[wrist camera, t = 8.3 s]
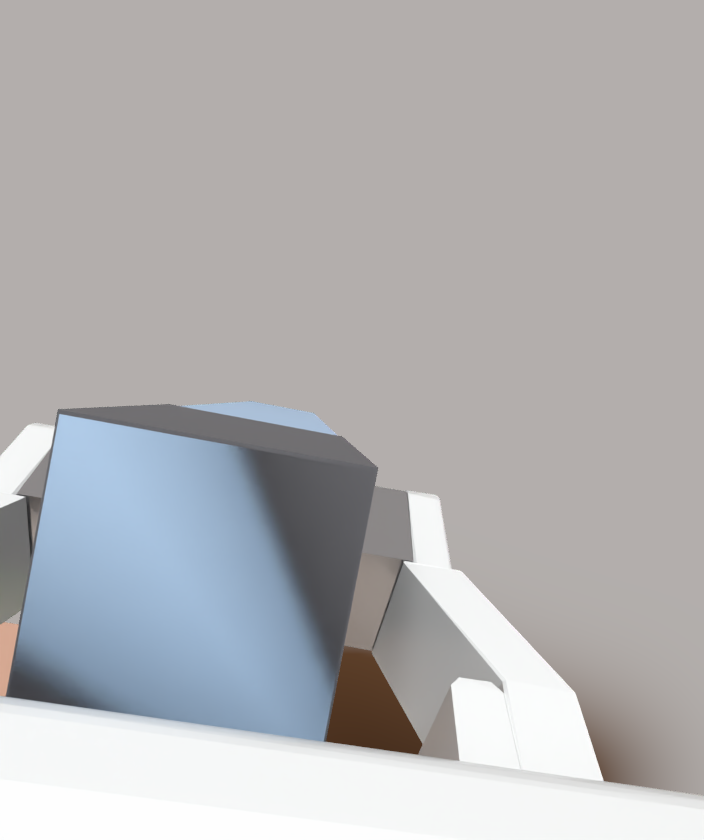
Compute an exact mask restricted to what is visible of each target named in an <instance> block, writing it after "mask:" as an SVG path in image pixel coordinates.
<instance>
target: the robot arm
mask: <svg viewBox="0 0 704 840" xmlns="http://www.w3.org/2000/svg"><path fill="white" fill-rule="evenodd" d="M54 428H55V426H50V425H45V424H39V423H33V424H30V425H28V426H26V427H25V429H24V430H23V431H22V432H21V433H20V434H19V435H18V437H17V438H16V439H15V440H14V441H13V442H12V443H11V444H10V446H9V447H8V448H7V449H6V450H5V451H4V452H3V453H2V455H1V456H0V625H1V624H2V623H3V622H5V621H6V620H7V619H9V618H10V617H12V616H13V615H15V614H16V613H18V612H19V611H21V610H22V604H23V599H24V593H25V588H26V582H27V577H28V571H29V566H30V560H31V555H32V549H33V544H34V538H35V533H36V527H37V522H38V516H39V511H40V505H41V500H42V494H43V489H44V483H45V478H46V472H47V467H48V461H49V456H50V450H51V445H52V439H53V434H54ZM344 646H350V647H355V648H361V649H366V650H372V654H373V656H374V658H375V659H376V661H377V663H378V665H379V667H380V669H381V670H382V672H383V674H384V676H385V678H386V679H387V681H388V683H389V685H390V686H391V688H392V690H393V692H394V694H395V695H396V697H397V699H398V701H399V702H400V704H401V706H402V708H403V710H404V711H405V713H406V715H407V717H408V718H409V720H410V722H411V724H412V725H413V727H414V729H415V731H416V733H417V734H418V736H419V738H420V740H421V742H422V743H423V745H422V747H421V750H420V752H419V754H418V755H414V754H407V753H400V752H393V751H385V750H379V749H372V748H365V747H358V746H351V745H344V744H337V743H329V742H323V741H316V740H309V739H302V738H295V737H287V736H280V735H273V734H266V733H259V732H252V731H245V730H238V729H231V728H224V727H217V726H210V725H203V724H196V723H189V722H181V721H174V720H167V719H160V718H153V717H146V716H139V715H132V714H125V713H118V712H111V711H104V710H97V709H90V708H83V707H76V706H68V705H61V704H54V703H47V702H40V701H33V700H26V699H19V698H12V697H5V696H0V840H704V795H697V794H690V793H682V792H675V791H668V790H661V789H654V788H647V787H640V786H633V785H626V784H619V783H612V782H605V781H603V778H602V775H601V772H600V769H599V766H598V762H597V759H596V756H595V753H594V750H593V747H592V744H591V740H590V737H589V734H588V731H587V728H586V725H585V722H584V719H583V715H582V712H581V709H580V706H579V703H578V700H577V697H576V693H575V692H574V691H573V690H572V689H571V688H570V687H569V686H568V685H567V684H566V683H565V682H564V680H563V679H562V678H561V677H560V676H559V675H558V674H557V673H556V672H555V671H554V670H553V669H552V668H551V667H550V666H549V664H548V663H547V662H546V661H545V660H544V659H543V658H542V657H541V656H540V655H539V654H538V653H537V652H536V651H535V649H534V648H533V647H532V646H531V645H530V644H529V643H528V642H527V641H526V640H525V639H524V638H523V637H522V636H521V635H520V634H519V632H518V631H517V630H516V629H515V628H514V627H513V626H512V625H511V624H510V623H509V622H508V621H507V620H506V618H505V617H504V616H503V615H502V614H501V613H500V612H499V611H498V610H497V609H496V608H495V607H494V606H493V605H492V604H491V602H490V601H489V600H488V599H487V598H486V597H485V596H484V595H483V594H482V593H481V592H480V591H479V590H478V589H477V587H476V586H475V585H474V584H473V583H472V582H471V581H470V580H469V579H468V578H467V577H466V576H465V575H464V574H463V573H462V572H461V571H459V570H453V569H451V563H450V556H449V551H448V545H447V539H446V533H445V527H444V521H443V515H442V509H441V504H440V499H439V498H438V497H437V495H433V494H427V493H420V492H413V491H407V490H406V491H400V490H395V489H389V488H383V487H377V486H375V487H374V492H373V497H372V503H371V508H370V513H369V518H368V524H367V529H366V534H365V539H364V544H363V550H362V555H361V560H360V565H359V570H358V576H357V581H356V586H355V591H354V597H353V602H352V607H351V612H350V617H349V623H348V628H347V633H346V638H345V643H344Z"/></svg>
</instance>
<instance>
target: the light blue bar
mask: <svg viewBox="0 0 704 840" xmlns="http://www.w3.org/2000/svg"><path fill="white" fill-rule="evenodd" d="M377 471H378V467H376V466H375V465H374V464H373V463H372V462H371V461H370V460H369V459H367V458H366V457H365V456H364V455H363V454H362V453H361V452H359V451H358V450H357V449H356V448H355V447H353V446H352V445H351V444H350V443H349V442H348V441H347V440H346V439H344V438H343V437H342V436H337V435H336V434H335V433H334V432H333V431H332V430H331V429H330V428H329V427H328V426H327V425H326V424H325V423H324V422H323V421H322V420H321V419H319V418H318V417H317V416H316V415H315V414H314V413H310V412H305V411H300V410H295V409H289V408H284V407H279V406H274V405H268V404H263V403H258V402H252V401H249V402H235V403H219V404H204V405H189V406H176V405H170V404H165V405H143V406H122V407H121V406H120V407H99V408H77V409H58V412H57V418H56V423H55V428H54V434H53V439H52V445H51V450H50V456H49V461H48V467H47V472H46V478H45V483H44V489H43V494H42V500H41V505H40V511H39V516H38V522H37V527H36V533H35V538H34V544H33V549H32V555H31V560H30V566H29V571H28V577H27V582H26V588H25V593H24V599H23V604H22V610H21V615H20V621H19V626H18V632H17V637H16V643H15V648H14V654H13V659H12V665H11V670H10V676H9V681H8V686H7V692H6V697H12V698H19V699H26V700H33V701H40V702H47V703H54V704H61V705H68V706H76V707H83V708H90V709H97V710H104V711H111V712H118V713H125V714H132V715H139V716H146V717H153V718H160V719H167V720H174V721H181V722H189V723H196V724H203V725H210V726H217V727H224V728H231V729H238V730H245V731H252V732H259V733H266V734H273V735H280V736H287V737H295V738H302V739H309V740H316V741H323V742H326V737H327V732H328V727H329V722H330V716H331V711H332V706H333V700H334V696H335V690H336V685H337V680H338V675H339V670H340V664H341V659H342V654H343V649H344V643H345V638H346V633H347V628H348V623H349V617H350V612H351V607H352V602H353V597H354V591H355V586H356V581H357V576H358V570H359V565H360V560H361V555H362V550H363V544H364V539H365V534H366V529H367V524H368V518H369V513H370V508H371V503H372V497H373V492H374V487H375V482H376V476H377Z"/></svg>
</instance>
